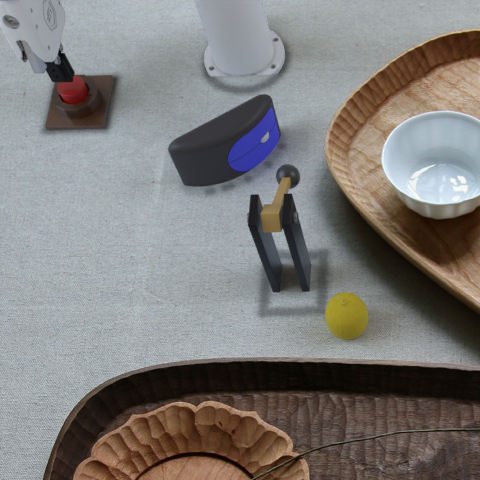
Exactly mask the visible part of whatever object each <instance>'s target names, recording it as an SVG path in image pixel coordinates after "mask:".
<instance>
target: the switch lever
mask: <svg viewBox="0 0 480 480" xmlns="http://www.w3.org/2000/svg"><path fill="white" fill-rule="evenodd" d="M275 180H276V182H277V184H278V187H277V190H276V192H275V195H274V197H273V200H272V202H271V203H264V204H263V209H262V212H261V220H262V227H263V232H271V233H282V232H283V228H282V212H283V199H284V194H289V191H290V190H293V189H294V188H296V187H297V186H298V185H299V184H300V181H301V173H300V171H299V169H298V168H297V167H296V166H295V165H293V164H288V163H285V164H282V165H281V166H279V167H278V169H277V170H276V173H275Z"/></svg>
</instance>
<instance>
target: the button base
mask: <svg viewBox="0 0 480 480" xmlns="http://www.w3.org/2000/svg"><path fill="white" fill-rule="evenodd" d="M74 75H75V76H79V77H80V78H82V79H83V81H84V83H85V85H86V87H87V88H88V95H87V97H86V98H85V99H84V100H83V101H81V102H79V103H77V104H69V103H66V102H65V101H64V100H63V98H62V97H61V95H60V93H59V92H58V84H59V82H54V86H53V88H52V92H51V95H50V96H51V97H50V98H51V99H50V104H49V108H48V112H47V116H46V121H45V126H44V128H45V130H46V131H65V130H66V131H68V130H69V131H71V130H103V129H106V123H107V119H108V114H109V108H110V102H111V97H112V91H113V85H114V81H115V77H114V75H113V74H101V75H86V74H74Z"/></svg>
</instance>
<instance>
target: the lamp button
mask: <svg viewBox="0 0 480 480" xmlns="http://www.w3.org/2000/svg"><path fill="white" fill-rule="evenodd" d="M75 75H76V74H74V76H73V78H74V79H73V82H59V84H58V92H59V93H60V95H61V97H62V98H63V100H64V101H65V102H66V103H69V104H77V103H79V102H81V101H83V100H84V99H85V98H86V97H87V95H88V88H87V87H86V85H85V83H84V81H83V79H82V78H80V77H79V76H75Z"/></svg>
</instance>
